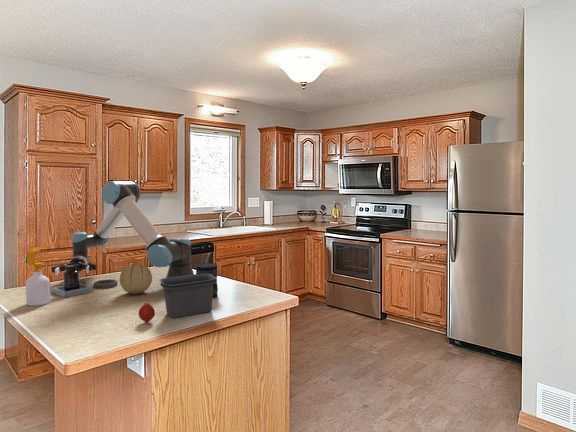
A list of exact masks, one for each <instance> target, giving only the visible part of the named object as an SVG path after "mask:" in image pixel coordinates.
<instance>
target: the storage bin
mask: <svg viewBox="0 0 576 432" xmlns="http://www.w3.org/2000/svg"><path fill="white" fill-rule="evenodd" d="M215 279H216V277H215V276H213V275H211V274H196V273H195V274H194V275H186V276H178V277H169V278H166V277H163V278H161V279H159V282H160V286H161V287H162V289H163V295H164V300H165V301H164V302H165V310H166V313H167V314H168V316H169V317H170V318H172V319H176V318H182V317H189V316H194V315H200V314H206V313H210V312H212V310H213V299H212V296H213V284H215V283H216V281H215Z"/></svg>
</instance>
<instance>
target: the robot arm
mask: <svg viewBox="0 0 576 432" xmlns="http://www.w3.org/2000/svg"><path fill="white" fill-rule="evenodd" d="M141 192H142V191H141V188H140V186H139V185H138V184H137V183H135V182H134V181H130V180H113V181H107V182H105V184H104V185H103V186H102V188H101V198H102V200H103V202H104V203H106V204H109V205H111V206H112V209H111V210H110V211H109V213H108V214H107V215H106V217H105V218H104V219H103V221H102V222H101V223H100V224H99V226H98V227H97V229H95V231H94V232H93V233H90V234H89V233H87V232H85V231H78V232H73V233H72V236H71V243H72V259H71V260H70V261H69V263H66V264H65V263H61V264H59V265H54V266H52V267H51V266H50V267H51V268H50V269H51V273H54V276H58V275H59V274H60V273H61V272H66V270H65V266H69V265H76V268H77V269H76V270H77V271H78V272H79V273H80V272H81V271H84V270H85V271H86V274H89V273H90V272H91V271H96V270H97V265H96V264H94V263H91V262H90V258H89V249H90V248H95V247H102V246H105V245H107V244H108V242H109V240H110V239H109V236H110V235H111V234H112V232H113V231H114V230H115V229H116V227H117V226H118V225H119V224H120V222H121V221H122V220H123V219H124V217H125V219H126V220H127V221H128V222H129V224H130V226H132V228H133V229H134V231H135V232H136V233H137V234H138V236H139V238H141V240H142V241H143V242H144V244H145V246H146V247H145V250H146V255H147V256H146V258H147V260H148V263H149V264H151V265H152V266H153V267H155V268H165V267H166V268H167V267H168V269H167V274H166V277H165V278H169V277H178V276H186V275H194V270H193V267H192V243H191V240H190V239H189V238H178V237H177V238H175V237H174V238H172V237H171V238H167V237H166V236H165V235H161V234H160V232H159V231H158V229H156V228H157V227H155V226H154V224H153V223H152V221H150V219H149V218H148V216H147V215H146V214H145V213H144V211H143V210H142V208H141V207H140V206H139V205H138V202H139V200H140V198H141V195H142V194H141Z"/></svg>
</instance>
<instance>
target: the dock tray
mask: <svg viewBox="0 0 576 432" xmlns="http://www.w3.org/2000/svg"><path fill="white" fill-rule="evenodd" d="M92 292H93V286H91V285H88V284H84V283H80V289H76V290H71V291H64V285H61V286H55V287H51V294H53V295H56V296H60V297H62V298H69V297H73V296H79V295H84V294H89V293H92Z"/></svg>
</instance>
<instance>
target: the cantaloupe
mask: <svg viewBox="0 0 576 432" xmlns="http://www.w3.org/2000/svg"><path fill="white" fill-rule="evenodd" d="M152 281H153V274H152V271H151V269H150V268H149V267H148V266H146V265H145V264H142V263H138V262H137V261H134V262H133V263H130V264H128V265H126V266H125V267H123V269H122V270H121V272H120V275H119V284H120V286H121V289H123V291H125V292H126V293H128V294H131V295H138V294H142V293H144V292H146V291H147V290H148V289H149V288H150V287H151V284H152Z"/></svg>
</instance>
